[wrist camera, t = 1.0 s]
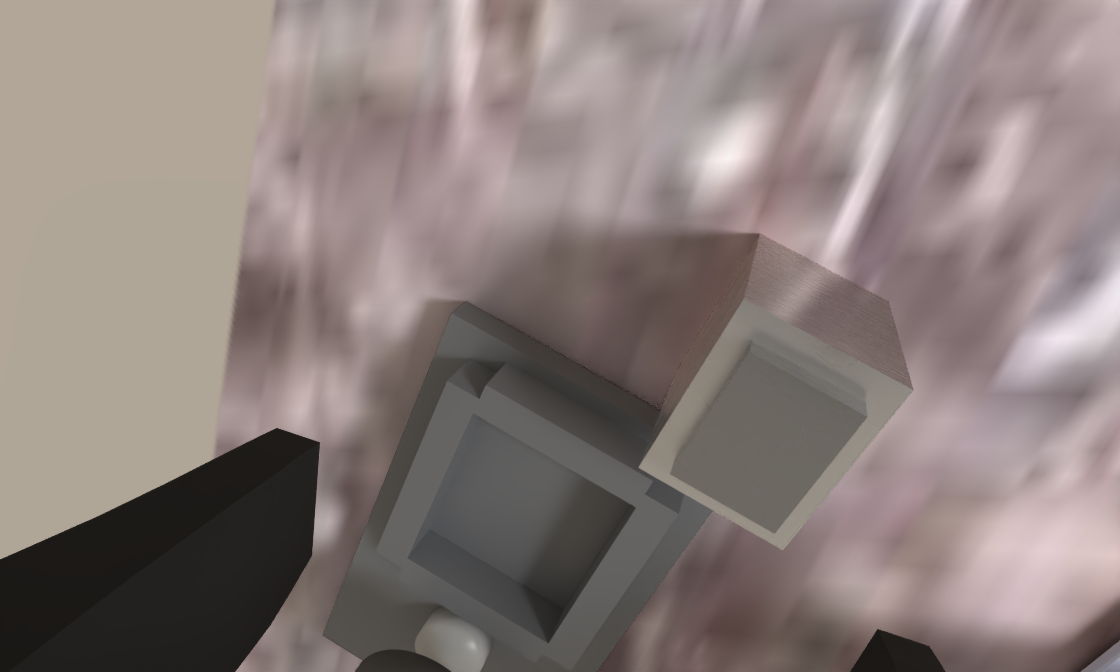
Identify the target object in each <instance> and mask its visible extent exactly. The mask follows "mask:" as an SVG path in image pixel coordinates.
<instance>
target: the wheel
mask: <svg viewBox="0 0 1120 672" xmlns="http://www.w3.org/2000/svg"><path fill="white" fill-rule="evenodd" d="M355 672H451V671H450V670H449V669H447V668H446V667H444V666H443V665H441V664H440V663H438V662H436V661H434V660H432V659H430V658H428V657H426V656H424V655H421V654H418V653H415V652H411V651H406V650H398V649H389V650H382V651H378V652H375V653H373V654H371V655H369V656H368V657H367V658H365V659H364V660H363V661H362V662H361V664H360V665H359V667H358V668H357V669H356V671H355Z"/></svg>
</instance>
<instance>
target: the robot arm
mask: <svg viewBox="0 0 1120 672" xmlns="http://www.w3.org/2000/svg"><path fill="white" fill-rule="evenodd" d="M319 448H320V442H317V441H314V440H311V439H308V438H305V437H302V436H299V435H296V434H293V433H290V432H287V431H284V430H281V429H278V428H276V429H274V430H272V431H269V432H267V433H265V434H263V435H261V436H259V437H257V438H255V439H253V440H251V441H249V442H247V443H245V444H243V445H241V446H239V447H237V448H235V449H233V450H231V451H229V452H227V453H225V454H223V455H221V456H219V457H217V458H215V459H213V460H211V461H209V462H207V463H205V464H203V465H201V466H200V467H198V468H196V469H194V470H192V471H190V472H188V473H186V474H184V475H182V476H180V477H178V478H176V479H174V480H172V481H170V482H168V483H166V484H164V485H162V486H160V487H157V488H156V489H153V490H151V491H149V492H147V493H145V494H143V495H141V496H139V497H137V498H135V499H133V500H131V501H129V502H127V503H124V504H122V505H120V506H118V507H116V508H114V509H112V510H110V511H108V512H106V513H104V514H102V515H100V516H98V517H95V518H93V519H91V520H89V521H86V522H84V523H82V524H79V525H77V526H75V527H73V528H70V529H68V530H66V531H64V532H61V533H59V534H57V535H55V536H52V537H50V538H48V539H46V540H44V541H41V542H39V543H37V544H34V545H32V546H30V547H28V548H25V549H23V550H21V551H19V552H16V553H14V554H12V555H9V556H7V557H5V558H3V559H0V672H235V671H236V670H237V669H238V667H239V666H240V665H241V663H242V662H243V661H244V660H245V658H246V657H247V656H248V654H249V653H250V652H251V650H252V649H253V648H254V646H255V645H256V644H257V642H258V641H259V640H260V638H261V637H262V636H263V634H264V633H265V632H266V630H267V629H268V628H269V626H270V625H271V623H272V622H273V620H274V618H275V617H276V615H277V613H278V612H279V610H280V609H281V607H282V605H283V604H284V602H285V600H286V599H287V597H288V596H289V594H290V592H291V591H292V589H293V587H294V585H295V584H296V582H297V580H298V579H299V577H300V575H301V573H302V572H303V570H304V568H305V567H306V565H307V563H308V561H309V560H310V558H311V556H312V547H313V533H314V519H315V504H316V490H317V476H318V462H319ZM850 672H945V670H944V669H943V667H942V665H941V664H940V662H939V661H938V659H937V658H936V656H935V655H934V653H933V651H932V650H931V648H930V647H929V646H927V645H924V644H921V643H918V642H915V641H912V640H909V639H906V638H903V637H900V636H897V635H894V634H891V633H888V632H885V631H882V630H879V629H877V631H876V632H875V634H874V636H873V637H872V639H871V640H870V642H869V643H868V645H867V647H866V648H865V650H864V651H863V653H862V654H861V656H860V657H859V659H858V661H857V662H856V664H855V665H854V667H853V668H852V670H851V671H850ZM1081 672H1120V641H1118V642H1117V643H1116V644H1115V645H1113V646H1112V647H1111V648H1110V649H1108V650H1107V651H1106V652H1105V653H1103V654H1102V655H1101V656H1100V657H1098V658H1097V659H1096V660H1095V661H1093V662H1092V663H1091V664H1090V665H1088V666H1087V667H1086V668H1085V669H1083V670H1082V671H1081Z"/></svg>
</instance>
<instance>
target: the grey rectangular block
mask: <svg viewBox="0 0 1120 672" xmlns="http://www.w3.org/2000/svg"><path fill="white" fill-rule="evenodd" d="M912 391H913V387H912V383H911V380H910V376H909V372H908V369H907V365H906V362H905V358H904V354H903V351H902V347H901V344H900V340H899V336H898V333H897V329H896V326H895V322H894V318H893V315H892V311H891V308H890V304H889V301H887V300H885V299H883V298H881V297H879V296H878V295H876V294H874V293H872V292H870V291H868V290H866V289H864V288H862V287H860V286H859V285H857V284H855V283H853V282H851V281H849V280H847V279H845V278H843V277H842V276H840V275H838V274H836V273H834V272H832V271H830V270H828V269H826V268H825V267H823V266H821V265H819V264H817V263H815V262H813V261H811V260H809V259H808V258H806V257H804V256H802V255H800V254H798V253H796V252H794V251H792V250H790V249H789V248H787V247H785V246H783V245H781V244H779V243H777V242H775V241H773V240H772V239H770V238H768V237H766V236H764V235H762V234H760V235H759V236H758V238H757V240H756V241H755V243H754V245H753V246H752V248H751V250H750V251H749V253H748V254H747V256H746V258H745V259H744V261H743V263H742V264H741V266H740V268H739V269H738V271H737V273H736V274H735V276H734V278H733V279H732V281H731V283H730V284H729V286H728V287H727V289H726V291H725V292H724V294H723V296H722V297H721V299H720V301H719V302H718V304H717V306H716V307H715V309H714V311H713V312H712V314H711V315H710V317H709V319H708V320H707V322H706V324H705V325H704V327H703V329H702V330H701V332H700V334H699V335H698V337H697V339H696V340H695V342H694V344H693V345H692V347H691V348H690V350H689V352H688V353H687V355H686V357H685V358H684V360H683V362H682V363H681V365H680V367H679V368H678V370H677V372H676V373H675V376H674V378H673V381H672V384H671V386H670V389H669V391H668V394H667V396H666V399H665V401H664V404H663V406H662V409H661V411H660V414H659V417H658V419H657V422H656V424H655V427H654V429H653V432H652V434H651V437H650V439H649V442H648V444H647V447H646V450H645V452H644V455H643V457H642V460H641V462H640V465H639V467H638V468H640V469H641V470H643V471H645V472H647V473H648V474H650V475H652V476H654V477H655V478H657V479H659V480H661V481H662V482H664V483H666V484H668V485H669V486H671V487H673V488H675V489H676V490H678V491H680V492H682V493H683V494H685V495H687V496H689V497H690V498H692V499H694V500H696V501H697V502H699V503H701V504H703V505H704V506H706V507H708V508H710V509H711V510H713V511H715V512H717V513H718V514H720V515H722V516H724V517H725V518H727V519H729V520H731V521H732V522H734V523H736V524H738V525H739V526H741V527H743V528H745V529H746V530H748V531H750V532H752V533H753V534H755V535H757V536H759V537H760V538H762V539H764V540H766V541H767V542H769V543H771V544H773V545H774V546H776V547H778V548H780V549H781V550H784V548H785V547H786V546H787V545H788V544H789V542H790V541H791V540H792V539H793V537H794V536H795V535H796V534H797V532H798V531H799V530H800V529H801V528H802V526H803V525H804V524H805V523H806V521H807V520H808V519H809V518H810V517H811V515H812V514H813V513H814V512H815V510H816V509H817V508H818V507H819V506H820V504H821V503H822V502H823V501H824V499H825V498H826V497H827V496H828V494H829V493H830V492H831V491H832V490H833V488H834V487H835V486H836V485H837V483H838V482H839V481H840V480H841V479H842V477H843V476H844V475H845V474H846V472H847V471H848V470H849V469H850V467H851V466H852V465H853V464H854V463H855V461H856V460H857V459H858V458H859V456H860V455H861V454H862V453H863V452H864V450H865V449H866V448H867V447H868V445H869V444H870V443H871V442H872V441H873V439H874V438H875V437H876V436H877V434H878V433H879V432H880V431H881V429H882V428H883V427H884V426H885V425H886V423H887V422H888V421H889V420H890V418H891V417H892V416H893V415H894V414H895V412H896V411H897V410H898V409H899V407H900V406H901V405H902V404H903V402H904V401H905V400H906V399H907V398H908V396H909V395H910V394H911V393H912Z"/></svg>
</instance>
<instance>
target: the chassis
mask: <svg viewBox="0 0 1120 672" xmlns="http://www.w3.org/2000/svg"><path fill="white" fill-rule="evenodd" d="M659 414H660V410H658V409H657V408H655V407H653V406H651V405H650V404H648V403H646V402H644V401H642V400H641V399H639V398H637V397H635V396H634V395H632V394H630V393H628V392H626V391H625V390H623V389H621V388H619V387H618V386H616V385H614V384H612V383H610V382H609V381H607V380H605V379H603V378H602V377H600V376H598V375H596V374H594V373H593V372H591V371H589V370H587V369H586V368H584V367H582V366H580V365H578V364H577V363H575V362H573V361H571V360H570V359H568V358H566V357H564V356H562V355H561V354H559V353H557V352H555V351H553V350H552V349H550V348H548V347H546V346H545V345H543V344H541V343H539V342H537V341H536V340H534V339H532V338H530V337H529V336H527V335H525V334H523V333H521V332H520V331H518V330H516V329H514V328H513V327H511V326H509V325H507V324H505V323H504V322H502V321H500V320H498V319H497V318H495V317H493V316H491V315H489V314H488V313H486V312H484V311H482V310H481V309H479V308H477V307H475V306H473V305H472V304H470V303H468V302H465V303H464V304H462V305H461V306H460V307H459V308H457V309H456V310H455V311H454V312H452V313H451V316H450V318H449V321H448V323H447V326H446V328H445V331H444V333H443V336H442V338H441V341H440V343H439V346H438V348H437V351H436V353H435V356H434V358H433V361H432V363H431V366H430V368H429V371H428V373H427V376H426V378H425V381H424V383H423V386H422V388H421V391H420V393H419V396H418V398H417V400H416V403H415V405H414V408H413V410H412V413H411V415H410V418H409V420H408V423H407V425H406V428H405V430H404V433H403V435H402V438H401V440H400V443H399V445H398V448H397V450H396V453H395V455H394V458H393V460H392V463H391V465H390V468H389V470H388V473H387V475H386V478H385V480H384V483H383V485H382V488H381V490H380V493H379V495H378V498H377V500H376V503H375V505H374V508H373V510H372V513H371V515H370V518H369V520H368V523H367V525H366V528H365V530H364V533H363V535H362V538H361V540H360V543H359V545H358V548H357V550H356V553H355V555H354V558H353V560H352V563H351V565H350V568H349V570H348V573H347V575H346V578H345V580H344V583H343V585H342V588H341V590H340V593H339V595H338V598H337V600H336V603H335V605H334V608H333V610H332V613H331V615H330V618H329V620H328V623H327V625H326V628H325V630H324V633H323V636H324V637H326V638H328V639H329V640H331V641H332V642H334V643H336V644H337V645H339V646H340V647H342V648H344V649H345V650H347V651H348V652H350V653H352V654H353V655H355V656H356V657H358V658H360V659H361V660H364V659H365V658H367V657H368V656H369V655H371V654H373V653H375V652H378V651H382V650H389V649H398V650H406V651H411V652H415V653H418V654H421V655H424V656H426V657H428V658H430V659H432V660H434V661H436V662H438V663H440V664H441V665H443V666H444V667H446V668H447V669H449V670H450V671H451V672H597V671H598V669H599V668H600V666H601V665H602V664H603V662H604V661H605V659H606V658H607V657H608V655H609V654H610V653H611V651H612V650H613V648H614V647H615V646H616V644H617V643H618V641H619V640H620V639H621V637H622V636H623V634H624V633H625V632H626V630H627V629H628V628H629V626H630V625H631V623H632V622H633V621H634V619H635V618H636V616H637V615H638V614H639V612H640V611H641V609H642V608H643V607H644V605H645V604H646V602H647V601H648V600H649V598H650V597H651V596H652V594H653V593H654V591H655V590H656V589H657V587H658V586H659V584H660V583H661V582H662V580H663V579H664V577H665V576H666V575H667V573H668V572H669V570H670V569H671V568H672V566H673V565H674V564H675V562H676V561H677V559H678V558H679V557H680V555H681V554H682V552H683V551H684V550H685V548H686V547H687V545H688V544H689V543H690V541H691V540H692V539H693V537H694V536H695V534H696V533H697V532H698V530H699V529H700V527H701V526H702V525H703V523H704V522H705V520H706V519H707V518H708V516H709V515H710V513H711V512H712V511H713V510H711V509H710V508H708V507H706V506H704V505H703V504H701V503H699V502H697V501H696V500H694V499H692V498H690V497H689V496H687V495H685V494H683V493H682V492H680V491H678V490H676V489H675V488H673V487H671V486H669V485H668V484H666V483H664V482H662V481H661V480H659V479H657V478H655V477H654V476H652V475H650V474H648V473H647V472H645V471H643V470H641V469H640V468H638V467H639V465H640V462H641V460H642V457H643V455H644V452H645V450H646V447H647V444H648V442H649V439H650V437H651V434H652V432H653V429H654V427H655V424H656V422H657V419H658V417H659Z"/></svg>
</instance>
